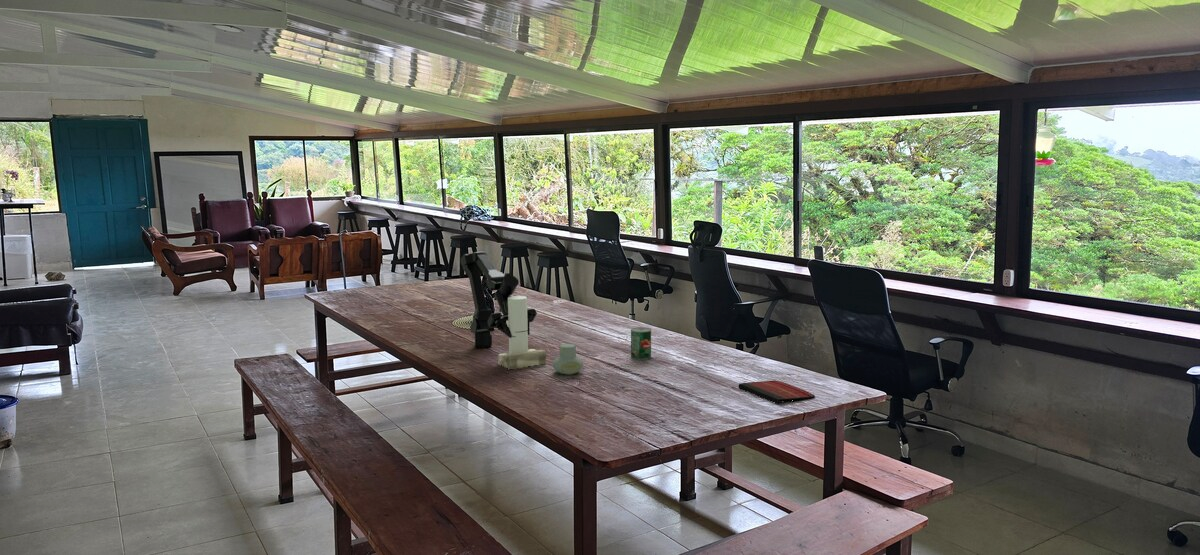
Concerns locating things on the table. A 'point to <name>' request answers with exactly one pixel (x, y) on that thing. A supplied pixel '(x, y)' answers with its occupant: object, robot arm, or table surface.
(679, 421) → the table surface
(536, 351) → the wooden holder
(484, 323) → the robot arm
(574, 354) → the air freshener
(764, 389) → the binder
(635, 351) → the canned tomato
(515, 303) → the cylindrical container
